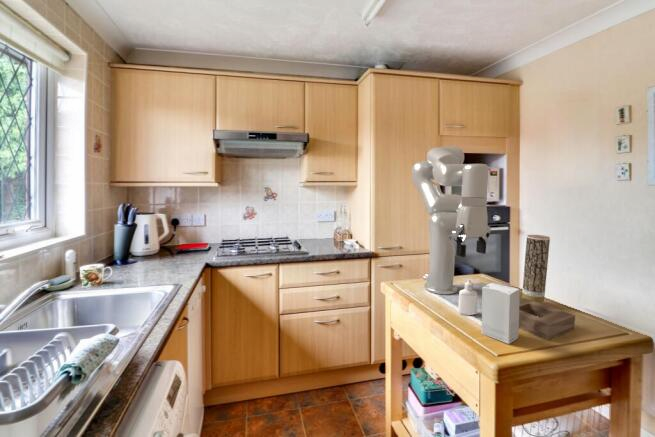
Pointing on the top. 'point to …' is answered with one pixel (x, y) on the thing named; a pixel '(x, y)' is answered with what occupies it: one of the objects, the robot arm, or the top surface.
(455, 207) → the robot arm
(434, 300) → the top surface
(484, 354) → the top surface
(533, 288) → the bark textured log
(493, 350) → the top surface
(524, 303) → the dropper stand
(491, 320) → the skincare box
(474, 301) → the eye dropper bottle
